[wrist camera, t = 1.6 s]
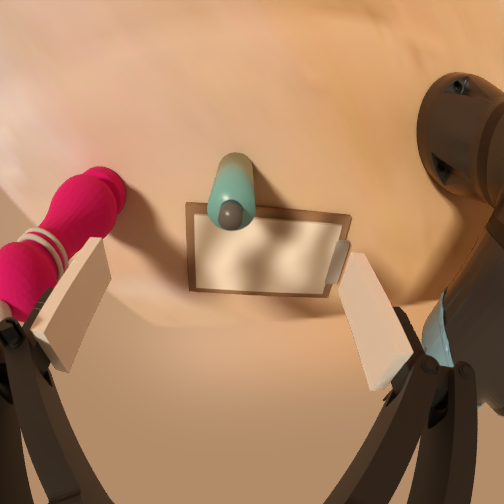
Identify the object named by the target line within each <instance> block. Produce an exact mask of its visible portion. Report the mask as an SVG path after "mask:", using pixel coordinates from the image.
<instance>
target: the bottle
mask: <svg viewBox="0 0 504 504" xmlns="http://www.w3.org/2000/svg"><path fill="white" fill-rule="evenodd" d="M207 212H208V216H209V218H210V220H211V221H212V223H213V224H214V225H216V226H217V227H219V228H221V229H223V230H227V231H237V230H240V229H243V228H245V227H246V226H248V225H249V224H250V223H251V222H252V220H253V218H254V216H255V212H256V207H255V192H254V177H253V165H252V162H251V160H250V159H249V158H248V157H247V156H246V155H244V154H242V153H230V154H228V155H226V156H225V157H224V158H223V159H222V160H221V162H220V164H219V167H218V171H217V174H216V177H215V181H214V184H213V187H212V191H211V194H210V198H209V201H208V205H207Z"/></svg>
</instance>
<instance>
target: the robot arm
mask: <svg viewBox="0 0 504 504" xmlns="http://www.w3.org/2000/svg"><path fill="white" fill-rule="evenodd" d="M417 142H418V149H419V153H420V157H421V160H422V162H423V164H424V167H425V169H426V170H427V172H428V173H429V175H430V176H431V177H432V179H433V180H434V181H435V182H437V183H438V184H439V185H441V186H442V187H443V188H445V189H446V190H447V191H449V192H450V193H452V194H455V195H457V196H460V197H465V198H469V199H473V200H477V201H481V202H485V203H488V204H490V205H491V206H492V207H493V208H495V209H494V211H493V213H492V215H491V217H490V219H489V221H488V223H487V225H486V226H485V228H484V230H483V232H482V234H481V235H480V237H479V239H478V241H477V242H476V244H475V246H474V248H473V249H472V251H471V253H470V254H469V256H468V257H467V259H466V261H465V262H464V264H463V265H462V267H461V269H460V270H459V272H458V273H457V275H456V276H455V278H454V279H453V281H452V282H451V284H450V285H449V286H448V287H447V288H446V289H445V290H444V291H443V293H442V294H441V296H440V299H439V302H438V303H437V305H436V306H435V307H434V309H433V310H432V312H431V313H430V315H429V316H428V318H427V320H426V322H425V324H424V327H423V332H422V345H421V343H420V341H419V339H418V337H417V335H416V333H415V331H414V330H413V327H412V325H411V324H410V321H409V319H408V317H407V315H406V313H404V311H403V310H402V309H401V308H400V307H392V305H391V303H390V301H389V299H388V297H387V295H386V293H385V292H384V290H383V288H382V286H381V284H380V282H379V280H378V278H377V276H376V275H375V273H374V271H373V269H372V267H371V265H370V264H369V262H368V260H367V258H366V256H365V255H364V253H354V252H351V254H350V257H349V260H348V263H347V266H346V269H345V272H344V275H343V278H342V281H341V284H340V287H339V289H338V294H339V296H340V299H341V302H342V305H343V308H344V311H345V313H346V316H347V319H348V322H349V325H350V328H351V331H352V334H353V337H354V340H355V343H356V346H357V349H358V353H359V356H360V359H361V362H362V365H363V369H364V372H365V375H366V379H367V382H368V385H369V388H370V391H374V390H381V389H385V388H386V387H387V386H388V384H389V383H390V382H391V384H392V387H393V389H392V390H391V391H390V392H389V393H388V394H387V395H386V397H385V398H384V399H383V401H385V400H386V401H385V403H384V405H383V408H382V410H381V412H380V413H379V415H378V417H377V419H376V421H375V423H374V425H373V427H372V429H371V431H370V432H369V434H368V436H367V438H366V440H365V441H364V443H363V445H362V447H361V448H360V450H359V452H358V453H357V455H356V457H355V458H354V460H353V461H352V463H351V465H350V466H349V468H348V469H347V471H346V472H345V474H344V475H343V477H342V478H341V480H340V481H339V483H338V484H337V485H336V487H335V489H334V490H333V491H332V492H331V494H330V495H329V497H328V498H327V499H326V501H325V502H324V503H323V504H388V503H389V501H390V500H391V497H392V496H393V494H394V492H395V490H396V489H397V487H398V485H399V483H400V481H401V479H402V477H403V475H404V473H405V471H406V468H407V466H408V464H409V462H410V460H411V457H412V455H413V452H414V450H415V448H416V445H417V443H418V441H419V438H420V436H421V438H420V445H419V451H418V457H417V462H416V467H415V472H414V477H413V481H412V486H411V490H410V494H409V498H408V501H407V504H470V502H471V496H472V490H473V483H474V475H475V466H476V453H477V424H478V423H477V409H478V408H479V407H480V406H482V405H483V404H484V402H486V403H487V404H488V405H489V406H490V407H491V408H492V409H493V410H494V411H495V412H496V413H497V414H498V415H499V416H501V417H503V418H504V92H502V91H501V90H500V89H498V88H497V87H496V86H494V85H493V84H491V83H490V82H488V81H487V80H485V79H483V78H481V77H479V76H476V75H473V74H467V73H459V72H455V73H450V74H447V75H444V76H442V77H441V78H439V79H438V80H437V81H436V82H435V83H433V85H432V86H431V87H430V88H429V90H428V91H427V93H426V95H425V97H424V99H423V101H422V104H421V107H420V110H419V115H418V121H417ZM111 279H112V278H111V274H110V270H109V266H108V262H107V258H106V253H105V249H104V244H103V240H102V238H96V237H90V238H89V239H88V241H87V242H86V243H85V245H84V246H83V247H82V249H81V250H80V252H79V253H78V254H77V256H76V257H75V259H74V260H73V261H72V263H71V264H70V266H69V267H68V269H67V270H66V271H65V273H64V274H63V276H62V277H61V279H60V280H59V282H58V283H57V285H56V286H55V287H50V288H48V289H47V290H46V291H45V292H44V293H43V294H42V295H41V297H40V298H39V300H38V303H36V305H35V306H34V309H33V310H32V311H31V313H30V315H29V316H28V318H27V320H26V321H25V323H24V325H23V327H21V326H20V324H19V322H18V321H17V319H15V318H14V317H8V318H5V319H3V320H2V321H1V322H0V504H34V503H33V499H32V495H31V491H30V486H29V482H28V477H27V472H26V467H25V461H24V454H23V447H22V439H21V431H22V434H23V437H24V441H25V444H26V446H27V449H28V452H29V455H30V457H31V460H32V463H33V465H34V468H35V470H36V473H37V475H38V477H39V480H40V482H41V484H42V486H43V488H44V490H45V493H46V495H47V497H48V499H49V503H48V504H114V503H113V502H112V500H111V499H110V498H109V497H108V495H107V493H106V492H105V490H104V489H103V487H102V485H101V484H100V482H99V480H98V478H97V477H96V475H95V473H94V472H93V470H92V468H91V466H90V464H89V462H88V461H87V459H86V457H85V455H84V453H83V451H82V449H81V447H80V445H79V443H78V441H77V439H76V436H75V434H74V432H73V430H72V428H71V426H70V423H69V421H68V418H67V416H66V414H65V411H64V408H63V406H62V403H61V401H60V398H59V395H58V392H57V390H56V387H55V384H54V381H53V378H52V375H51V372H50V370H49V368H48V367H49V365H50V362H51V363H52V365H53V366H54V368H55V369H56V370H59V371H63V372H67V373H69V372H70V369H71V367H72V364H73V362H74V359H75V356H76V354H77V352H78V349H79V347H80V345H81V342H82V339H83V337H84V335H85V333H86V330H87V328H88V326H89V324H90V322H91V319H92V317H93V315H94V313H95V311H96V309H97V307H98V305H99V303H100V301H101V298H102V296H103V294H104V292H105V290H106V288H107V286H108V284H109V282H110V281H111ZM20 428H21V431H20Z"/></svg>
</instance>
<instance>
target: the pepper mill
mask: <svg viewBox="0 0 504 504" xmlns="http://www.w3.org/2000/svg"><path fill="white" fill-rule="evenodd" d="M125 199H126V192H125V187H124V184H123V182H122V180H121V179H120V177H119V176H118V175H117V174H116V173H115V172H114V171H112V170H110V169H108V168H106V167H93V168H90V169H89V170H87V171H86V172H84V173H83V174H80V175H75V176H73V177H71V178H69V179H68V180H66V181H65V182H64V183H63V184H62V185H61V186H60V187H59V189H58V190H57V192H56V193H55V195H54V197H53V199H52V201H51V204H50V207H49V210H48V213H47V215H46V217H45V219H44V220H43V222H42V223H41V224H40V225H39V226H38V227H33V228H30V229H28V230H27V231H26V232H25V233H24V235H22V236H21V237H20V238H19V239H18V241H17V242H12V243H9V244H7V245H5V246H3V247H2V248H1V249H0V322H1V321H2V320H3V319H5V318H8V317H14V318H15V319H17V321H21V322H25V321H26V320H27V318H28V316H29V315H30V313H31V311H32V310H33V309H34V306H35V305H36V303H38V300H39V298H40V297H41V295H42V294H43V293H44V292H45V291H46V290H47V289H48V288H50V287H55V286H56V285H57V283H58V282H59V280H60V279H61V277H62V276H63V274H64V273H65V271H66V270H67V269H68V261H69V260H70V258H71V257H72V256H73V255H74V254H75V253H76V252H78V251H79V250H81V249H82V247H83V246H84V245H85V243H86V242H87V241H88V239H89V238H90V237H96V238H102V239H103V238H105V237H106V236H107V234H108V233H109V232H110V231H111V230H112V228H113V226H114V224H115V222H116V217H117V214H118V213H119V212H120V211H121V209H122V208H123V206H124V203H125Z"/></svg>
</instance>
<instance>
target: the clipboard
mask: <svg viewBox="0 0 504 504" xmlns="http://www.w3.org/2000/svg"><path fill="white" fill-rule="evenodd" d="M207 205H208V203H192V202H186V205H185V207H186V240H187V261H188V279H189V291H195V292H210V293H225V294H242V295H262V296H285V297H316V298H327V296H328V293H329V290H330V287H331V284H337V283H338V280H339V277H340V274H341V271H342V268H343V264H344V261H345V258H346V255H347V252H348V249H349V245H350V243H349V241H347V240H345V239H346V235H347V232H348V228H349V225H350V221H351V216H350V215H346V214H337V213H327V212H317V211H307V210H296V209H284V208H272V207H259V206H255V207H256V212H255V216H254V218H253V220H252V222H251V223H250V224H249V225H248V226H246V227H245V228H243V229H240V230H237V231H227V230H223V229H221V228H219V227H217V226H216V225H214V224H213V223H212V221H211V220H210V218H209V216H208V212H207Z"/></svg>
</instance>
